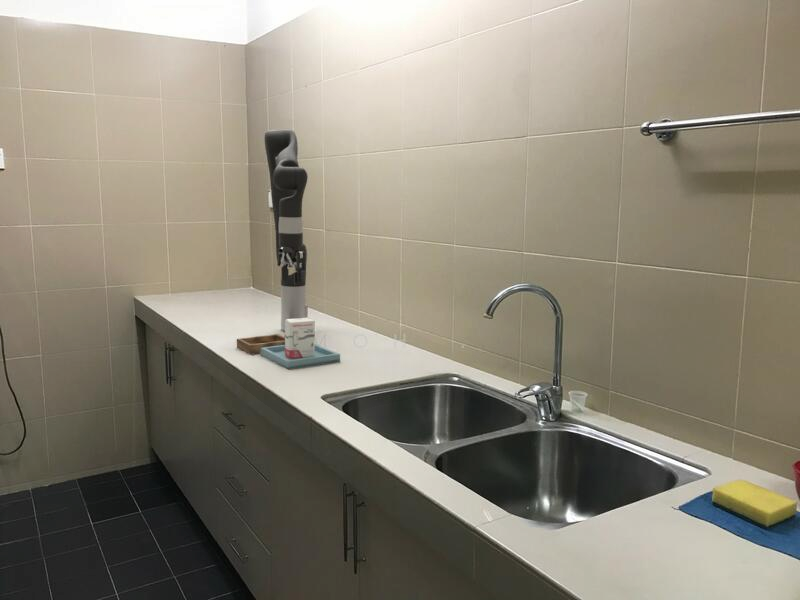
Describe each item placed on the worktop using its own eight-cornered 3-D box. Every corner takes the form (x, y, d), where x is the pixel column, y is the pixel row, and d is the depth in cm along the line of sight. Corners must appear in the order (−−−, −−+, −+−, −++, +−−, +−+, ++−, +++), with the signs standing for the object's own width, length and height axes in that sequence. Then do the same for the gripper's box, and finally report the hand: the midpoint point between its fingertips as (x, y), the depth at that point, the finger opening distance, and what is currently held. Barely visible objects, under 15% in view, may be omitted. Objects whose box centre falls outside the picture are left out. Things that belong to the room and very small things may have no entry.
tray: (309, 348, 224) (309, 341, 224) (340, 361, 208) (340, 354, 208) (260, 355, 214) (260, 347, 213) (288, 369, 198) (288, 361, 197)
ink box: (289, 359, 207) (289, 322, 205) (284, 355, 211) (284, 319, 209) (315, 356, 211) (315, 320, 209) (309, 352, 215) (309, 317, 213)
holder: (277, 342, 232) (277, 334, 231) (291, 348, 223) (291, 340, 222) (236, 347, 223) (236, 338, 222) (250, 354, 214) (249, 345, 214)
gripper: (312, 232, 205) (312, 284, 208) (290, 229, 216) (291, 278, 219) (290, 233, 200) (291, 286, 203) (269, 230, 211) (270, 279, 214)
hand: (291, 282), depth 211 cm, fingers open, 8 cm apart
